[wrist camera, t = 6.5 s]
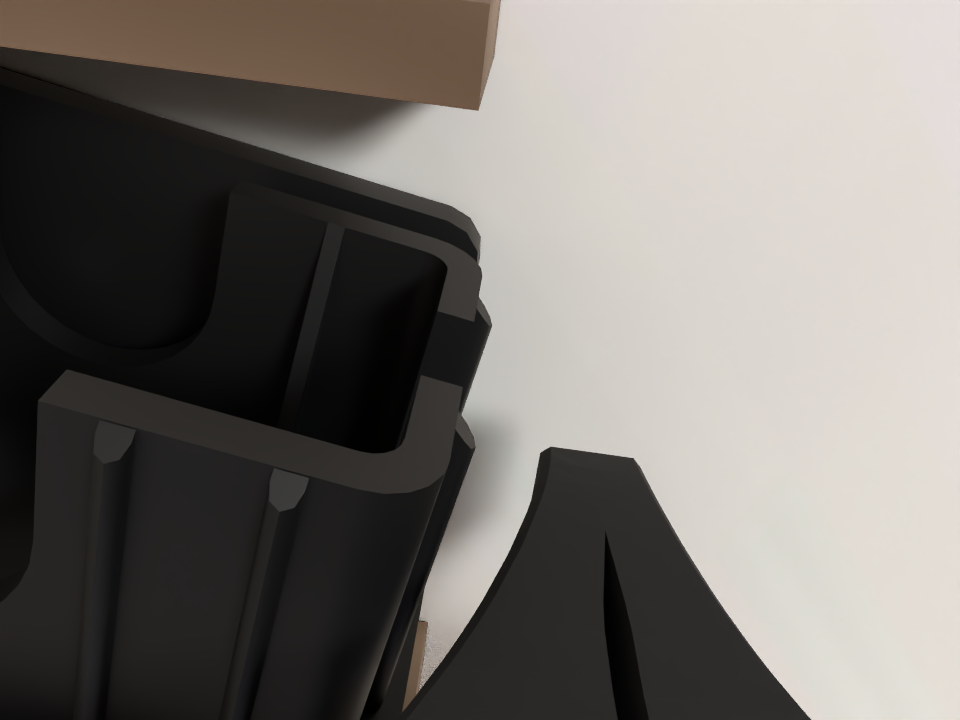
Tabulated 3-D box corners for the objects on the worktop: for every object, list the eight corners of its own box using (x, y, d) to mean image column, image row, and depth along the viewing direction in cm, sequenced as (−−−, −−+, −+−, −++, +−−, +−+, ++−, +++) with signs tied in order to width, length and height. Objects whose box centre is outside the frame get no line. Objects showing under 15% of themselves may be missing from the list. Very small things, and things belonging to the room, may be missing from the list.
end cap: (-172, 429, 15) (-646, 812, 9) (-226, -5, 11) (-1072, 167, 5) (402, 583, 16) (311, 1028, 10) (527, 225, 12) (495, 591, 6)
